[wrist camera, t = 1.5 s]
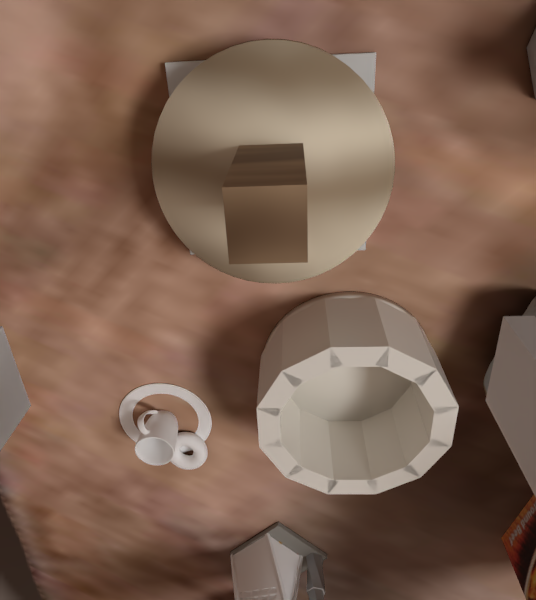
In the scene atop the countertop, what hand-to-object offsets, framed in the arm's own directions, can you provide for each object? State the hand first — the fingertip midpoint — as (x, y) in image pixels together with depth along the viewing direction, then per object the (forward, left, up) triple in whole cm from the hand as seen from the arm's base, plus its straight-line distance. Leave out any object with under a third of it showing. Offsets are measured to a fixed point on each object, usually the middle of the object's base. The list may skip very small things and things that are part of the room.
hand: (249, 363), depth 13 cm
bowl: (+16, +5, -21) cm, 27 cm away
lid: (0, 0, -21) cm, 21 cm away
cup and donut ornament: (+24, -12, -22) cm, 35 cm away
